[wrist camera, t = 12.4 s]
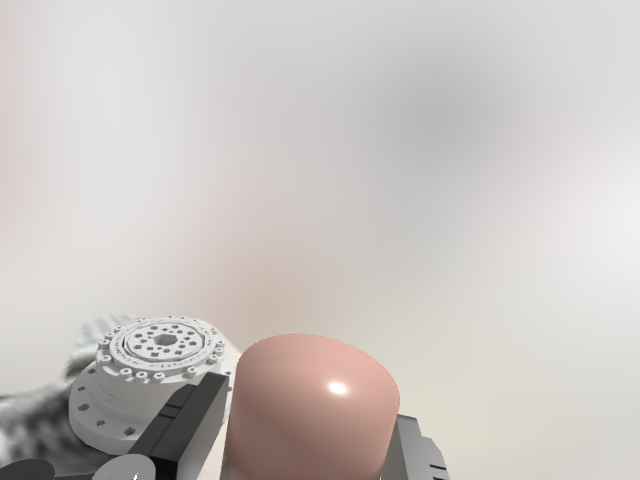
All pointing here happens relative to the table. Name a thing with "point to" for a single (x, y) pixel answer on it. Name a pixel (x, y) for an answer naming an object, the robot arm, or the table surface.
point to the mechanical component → (142, 378)
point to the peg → (308, 412)
